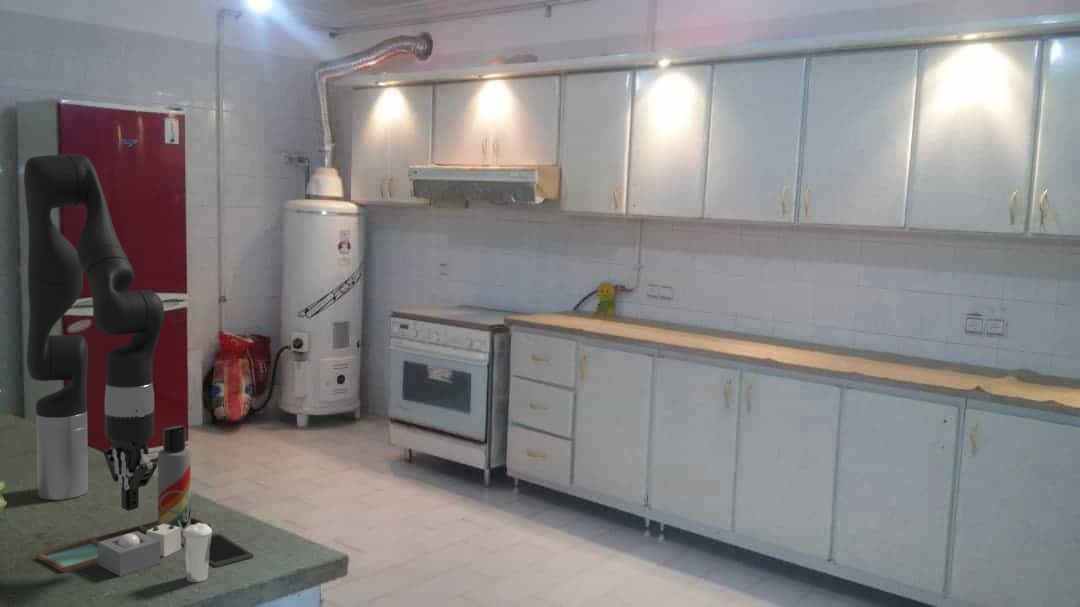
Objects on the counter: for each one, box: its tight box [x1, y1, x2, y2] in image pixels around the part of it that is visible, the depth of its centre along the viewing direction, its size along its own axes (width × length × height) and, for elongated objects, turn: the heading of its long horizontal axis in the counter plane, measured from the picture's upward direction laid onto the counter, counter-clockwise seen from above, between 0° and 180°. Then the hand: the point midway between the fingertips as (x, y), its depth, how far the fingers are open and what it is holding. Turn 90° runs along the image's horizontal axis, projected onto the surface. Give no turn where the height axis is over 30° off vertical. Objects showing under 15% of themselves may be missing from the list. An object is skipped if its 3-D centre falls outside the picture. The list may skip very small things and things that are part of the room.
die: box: [145, 524, 182, 558], centre depth 157 cm, size 4×4×5 cm
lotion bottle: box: [157, 424, 192, 532], centre depth 166 cm, size 6×6×20 cm
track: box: [37, 515, 212, 574], centre depth 160 cm, size 9×28×1 cm, turn 144°
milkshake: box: [178, 520, 213, 583], centre depth 146 cm, size 4×5×10 cm
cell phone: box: [181, 533, 254, 568], centre depth 158 cm, size 7×14×1 cm, turn 46°
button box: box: [97, 531, 161, 577], centre depth 150 cm, size 7×7×4 cm
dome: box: [118, 533, 140, 548], centre depth 150 cm, size 3×3×5 cm
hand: (130, 508), depth 150 cm, fingers closed
